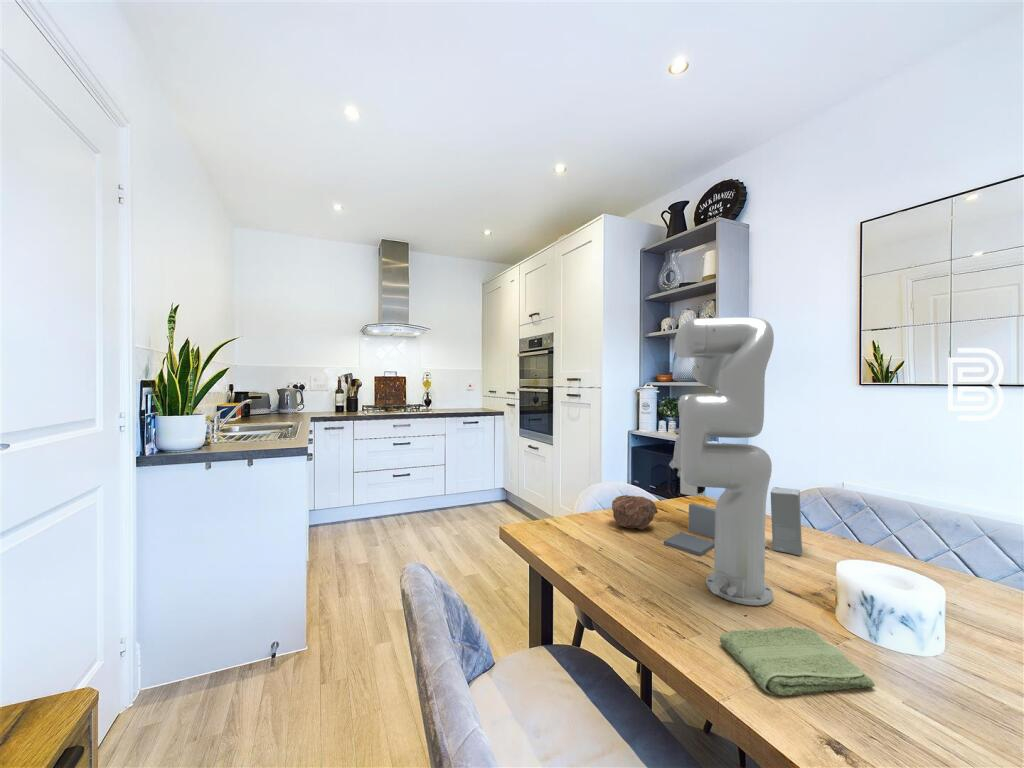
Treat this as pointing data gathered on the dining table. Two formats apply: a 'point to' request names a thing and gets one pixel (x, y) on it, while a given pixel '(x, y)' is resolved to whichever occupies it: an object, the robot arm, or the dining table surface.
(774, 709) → the dining table surface
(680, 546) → the mat
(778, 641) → the washcloth
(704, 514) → the screen
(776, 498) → the skincare box
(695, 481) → the robot arm
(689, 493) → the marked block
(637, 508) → the decorative rock
